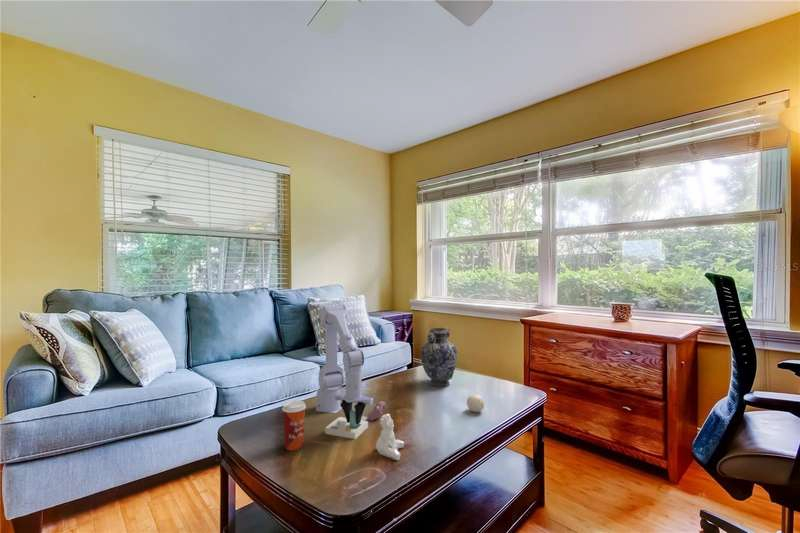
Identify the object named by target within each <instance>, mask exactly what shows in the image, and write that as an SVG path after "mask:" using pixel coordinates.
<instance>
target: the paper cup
mask: <svg viewBox="0 0 800 533" xmlns="http://www.w3.org/2000/svg"><path fill="white" fill-rule="evenodd" d="M306 408H307V405H306V403H305V402H304V401H303V400H299V399H296V400H290V401H287V402H285V403H284V404H283V405H282V408H281V411H282V414H283V417H282V418H283V430H284V432H283V434H284V444H285V449H286V450H287V451H297V450H300V449H301V448H302V447H303V446H304V439H305V422H306V421H305V420H306Z"/></svg>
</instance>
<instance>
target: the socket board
mask: <svg viewBox="0 0 800 533" xmlns="http://www.w3.org/2000/svg"><path fill="white" fill-rule="evenodd" d="M368 428H369V420H365V421H363V420H361V422H360V423H359V424H358V428H357V429H353V428H349V423H347V420H346V417H345V416H344V417H343V416H339V417H337V418H335V420H333V421H332V422H330V423H329V424H328V425H327V426H326V427H324V434H325V435H330V436H336V437H341V438H347V439H353V440H356V439H357V438H358V437H359V436H361V434H363V432H364V431H365V430H366V429H368Z"/></svg>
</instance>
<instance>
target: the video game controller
mask: <svg viewBox="0 0 800 533" xmlns="http://www.w3.org/2000/svg"><path fill="white" fill-rule="evenodd" d="M386 406H387V402H385V401H383V400H380V401H379V402H377V403H376V405H375V406H374V407H373V410H372V412H371V413H369V414H368V416H366V417H367V419H366V421H375V420H376V419H379V418H380V417H381V416H383V415H384V414H383V411H384V410H385V407H386Z"/></svg>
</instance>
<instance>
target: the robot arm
mask: <svg viewBox="0 0 800 533" xmlns="http://www.w3.org/2000/svg"><path fill="white" fill-rule="evenodd" d="M348 313H349V312H348V308H347V306H346V305H345V304H340V305H322V307H321V309H320V325H321V326H324V334H325V335H324V336H325V365H323V366H322V367H321V368H320V369H319V373H318V386H319V388H318V389H317V391H316V409H315V412H323V413H330V414H336V413H338V412H340V411H341V410H342V411H343V413H344V415H345V416H344V417H345V418H346V420H347V423H349V411H350V410H351V409H353V403H356V404H355V405H354V409H355V412H356V424H359V423H360V422H361V417H362V416H363V412H364V411H365V408H366V407H367V406H372V405H373V404H374V397H370V396H366V395H363V394H362V388H363V387H362V366H364V363H365V354H364V352H363V350H362V349H361V348H360V347H358V345H357V342H356V340H355V338H354V335H353V334H351V333H350V332H349V328H348V324H347V317H348ZM338 336H339V339H338ZM338 344H339V346H340V350H341V352H342V354H343V355H342V363H343V367H342V366H341V365H339V364H338ZM344 373H345V374H344ZM344 385H345V393H341V389H342V388H343V386H344Z"/></svg>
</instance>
